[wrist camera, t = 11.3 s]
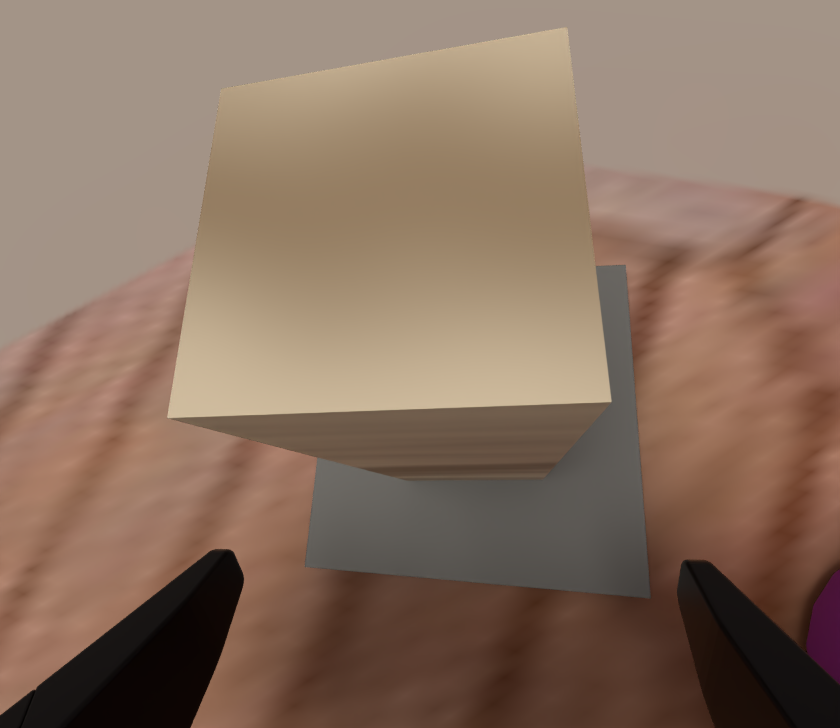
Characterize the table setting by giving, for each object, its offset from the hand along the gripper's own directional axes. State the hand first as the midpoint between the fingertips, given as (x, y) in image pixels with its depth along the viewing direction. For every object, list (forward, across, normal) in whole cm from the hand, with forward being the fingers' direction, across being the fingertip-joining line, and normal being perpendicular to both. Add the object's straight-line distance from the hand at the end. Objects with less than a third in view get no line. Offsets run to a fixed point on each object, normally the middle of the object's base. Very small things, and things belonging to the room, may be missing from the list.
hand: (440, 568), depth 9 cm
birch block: (+9, 0, +2) cm, 9 cm away
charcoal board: (+9, 0, +3) cm, 10 cm away
